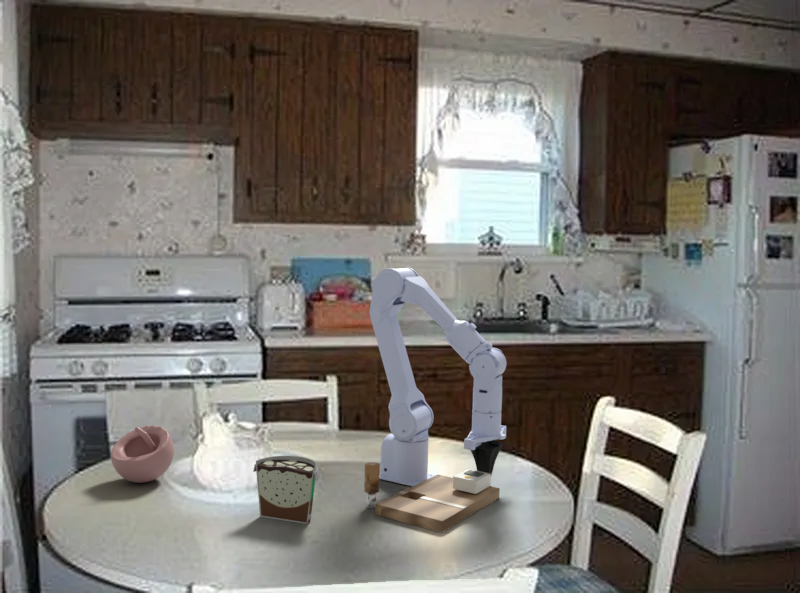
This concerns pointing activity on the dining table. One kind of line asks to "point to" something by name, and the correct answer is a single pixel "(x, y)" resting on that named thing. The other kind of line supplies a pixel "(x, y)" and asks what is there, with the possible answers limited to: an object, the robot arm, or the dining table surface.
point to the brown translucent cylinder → (371, 482)
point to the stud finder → (471, 481)
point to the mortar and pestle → (143, 454)
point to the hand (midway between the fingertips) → (484, 477)
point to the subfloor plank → (434, 504)
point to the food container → (286, 487)
